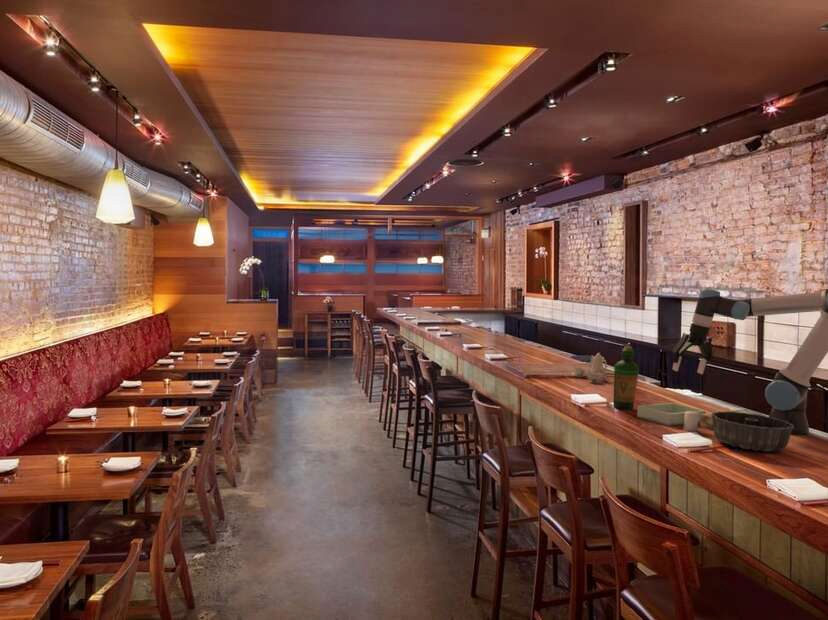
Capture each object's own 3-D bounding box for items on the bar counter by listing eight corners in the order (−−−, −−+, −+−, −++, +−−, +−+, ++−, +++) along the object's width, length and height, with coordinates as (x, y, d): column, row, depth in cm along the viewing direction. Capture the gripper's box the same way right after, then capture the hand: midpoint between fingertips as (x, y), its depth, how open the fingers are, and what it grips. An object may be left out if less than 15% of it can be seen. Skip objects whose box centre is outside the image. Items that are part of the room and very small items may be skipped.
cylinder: (700, 431, 240) (701, 413, 239) (691, 432, 237) (693, 414, 237) (689, 428, 244) (690, 410, 244) (680, 429, 242) (682, 411, 241)
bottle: (620, 411, 270) (624, 348, 268) (606, 405, 280) (610, 345, 278) (640, 410, 272) (645, 348, 271) (626, 405, 283) (631, 345, 281)
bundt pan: (718, 432, 240) (720, 407, 239) (796, 447, 223) (799, 420, 223) (700, 444, 220) (702, 417, 219) (784, 462, 203) (787, 432, 202)
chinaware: (567, 378, 364) (566, 350, 363) (591, 375, 369) (590, 348, 368) (594, 387, 338) (593, 357, 336) (619, 384, 342) (619, 355, 341)
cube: (719, 428, 247) (720, 416, 247) (711, 429, 244) (712, 417, 244) (708, 425, 251) (709, 413, 251) (700, 426, 249) (701, 414, 249)
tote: (704, 422, 255) (705, 411, 255) (668, 426, 245) (669, 414, 245) (672, 414, 270) (673, 402, 269) (637, 417, 259) (638, 405, 259)
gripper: (717, 326, 267) (703, 371, 271) (671, 318, 259) (658, 366, 263) (730, 330, 260) (716, 377, 264) (683, 323, 252) (670, 371, 256)
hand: (687, 371), depth 264 cm, fingers open, 13 cm apart
